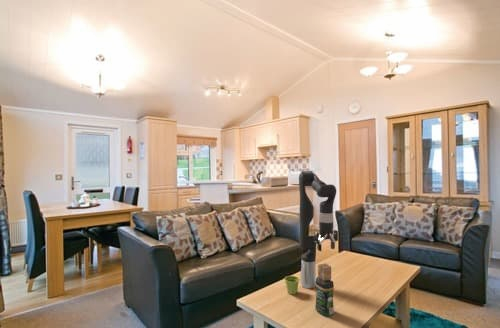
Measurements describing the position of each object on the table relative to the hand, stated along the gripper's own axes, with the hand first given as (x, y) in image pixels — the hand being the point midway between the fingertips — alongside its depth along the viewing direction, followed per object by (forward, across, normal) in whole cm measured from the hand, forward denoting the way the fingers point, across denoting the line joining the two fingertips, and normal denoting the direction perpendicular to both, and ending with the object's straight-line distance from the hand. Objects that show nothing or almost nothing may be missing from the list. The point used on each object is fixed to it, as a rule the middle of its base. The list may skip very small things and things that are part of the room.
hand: (326, 249), depth 150 cm
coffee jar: (+34, +2, +1) cm, 34 cm away
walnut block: (+15, +1, +1) cm, 15 cm away
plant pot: (+34, +7, -25) cm, 43 cm away
